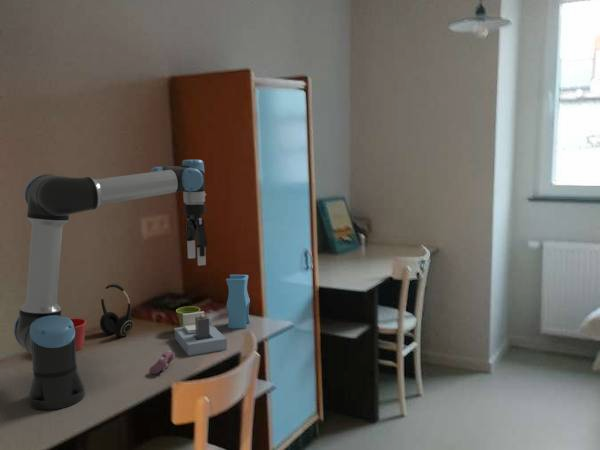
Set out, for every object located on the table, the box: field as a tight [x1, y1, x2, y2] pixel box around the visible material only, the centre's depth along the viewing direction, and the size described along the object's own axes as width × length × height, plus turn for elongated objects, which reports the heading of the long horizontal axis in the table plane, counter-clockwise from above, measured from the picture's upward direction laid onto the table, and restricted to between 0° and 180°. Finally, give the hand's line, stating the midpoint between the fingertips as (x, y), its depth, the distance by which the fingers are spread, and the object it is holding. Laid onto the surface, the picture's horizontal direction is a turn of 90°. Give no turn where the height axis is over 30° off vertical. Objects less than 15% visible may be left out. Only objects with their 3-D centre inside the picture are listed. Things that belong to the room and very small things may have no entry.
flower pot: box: [69, 317, 87, 352], centre depth 209 cm, size 11×11×10 cm
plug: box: [195, 315, 210, 340], centre depth 209 cm, size 4×4×11 cm
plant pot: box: [175, 305, 201, 328], centre depth 227 cm, size 9×9×9 cm
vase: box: [225, 274, 251, 330], centre depth 233 cm, size 8×8×20 cm
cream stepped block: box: [183, 310, 210, 334], centre depth 217 cm, size 8×8×5 cm
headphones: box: [99, 283, 134, 338], centre depth 222 cm, size 9×15×20 cm, turn 62°
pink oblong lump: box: [149, 350, 176, 375], centre depth 190 cm, size 10×5×7 cm, turn 170°
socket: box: [174, 322, 228, 357], centre depth 213 cm, size 14×20×4 cm
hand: (196, 261), depth 210 cm, fingers open, 13 cm apart
